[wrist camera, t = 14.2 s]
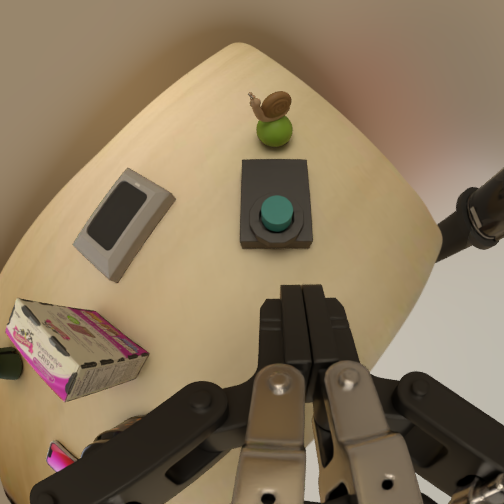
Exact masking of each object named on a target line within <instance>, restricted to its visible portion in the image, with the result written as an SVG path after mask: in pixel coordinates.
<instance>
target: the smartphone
mask: <svg viewBox="0 0 504 504" xmlns="http://www.w3.org/2000/svg"><path fill="white" fill-rule="evenodd" d="M75 461H77V459H76V458H74V457H73V456H72V455H71V454H70V453H69V452H68V451H67V450H66V449H65V448H63V447H62V446H61V445H60V444H59V443H58V442H57V441H53V442H51V444H50V447H49V450H48V453H47V457H46V462H47V463H48V465H49V466H50V467H51V468H52V469H53V470H54V471H55V472H58V471H60V470H62V469H63V468H65V467H67V466H68V465H70V464H72V463H73V462H75Z"/></svg>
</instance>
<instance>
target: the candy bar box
mask: <svg viewBox="0 0 504 504" xmlns="http://www.w3.org/2000/svg"><path fill="white" fill-rule="evenodd" d="M5 333H6V334H7V336H8V337H9V339H10V340H11V341H12V343H13V344H14V345H15V347H16V348H17V349H18V350H19V352H20V353H21V354H22V356H23V357H24V358H25V359H26V361H27V362H28V363H29V364H30V365H31V367H32V368H33V369H34V370H35V371H36V373H37V374H38V375H39V376H40V377H41V378H42V379H43V381H44V382H45V383H46V384H47V385H48V386H49V387H50V388H51V389H52V390H53V391H54V392H55V393H56V394H57V395H58V396H59V398H60V399H62V400H63V401H64V402H67V401H71V400H74V399H77V398H81V397H84V396H87V395H90V394H93V393H96V392H99V391H101V390H104V389H108V388H111V387H114V386H116V385H119V384H122V383H125V382H128V381H130V380H133V379H135V378H136V377H137V375H138V373H139V371H140V369H141V367H142V365H143V364H144V362H145V360H146V358H147V357H148V355H149V353H148V352H147V351H145V350H144V349H143V348H141V347H140V346H138V345H137V344H136V343H134V342H133V341H132V340H130V339H129V338H128V337H126V336H125V335H124V334H122V333H121V332H120V331H119V330H117V329H116V328H115V327H114V326H112V325H111V324H110V323H109V322H107V321H106V320H105V319H104V318H103V317H101V316H100V315H99V314H98V313H97V312H96V311H92V310H85V309H78V308H71V307H65V306H58V305H52V304H47V303H41V302H36V301H30V300H25V299H20V298H17V299H16V302H15V305H14V307H13V310H12V313H11V316H10V319H9V323H8V324H7V327H6V332H5Z"/></svg>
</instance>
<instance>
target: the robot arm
mask: <svg viewBox="0 0 504 504" xmlns="http://www.w3.org/2000/svg"><path fill="white" fill-rule="evenodd" d="M466 209H467V215H468V218H469V221H470V223H471V225H472V227H473V229H474V230H475V231H476V233H477V234H478V235H479V236H480V237H482V238H483V239H486V240H493V241H494V242H496V241H498V240H500V239H502V238H504V168H503V169H501V170H500V171H499V172H498V173H497V174H496V175H495V176H493V177H492V178H491V179H490V180H489V181H487V182H486V183H485V184H484V185H483V186H481V187H480V188H479V189H478V190H476V191H475V192H473V193H472V194H471V195H470V196H469V197H468V199H467V203H466ZM310 402H313V410H314V413H313V417H312V427H313V433H314V439H315V445H316V451H317V457H318V463H319V481H318V484H319V494H320V501H321V503H318V502H310V501H304V490H305V471H306V450H305V447H304V420H305V403H310ZM241 446H242V448H241V452H240V456H239V462H238V468H237V474H236V479H235V485H234V491H233V496H232V502H231V504H437V503H436V502H435V501H433V500H432V499H431V498H429V497H428V496H426V495H425V494H423V493H421V492H420V489H419V485H418V482H417V478H416V474H415V473H417V474H418V475H420V476H421V477H422V478H424V479H425V480H427V481H429V482H430V483H431V484H433V485H434V486H435V487H437V488H439V489H440V490H441V491H443V492H444V493H446V494H447V495H449V496H450V497H452V498H451V500H450V502H449V503H448V504H504V426H503V425H502V424H501V423H499V422H497V421H496V420H495V419H493V418H492V417H490V416H489V415H487V414H486V413H484V412H483V411H481V410H480V409H478V408H477V407H475V406H474V405H472V404H471V403H469V402H468V401H466V400H465V399H463V398H462V397H460V396H459V395H458V394H456V393H454V392H453V391H452V390H450V389H449V388H447V387H446V386H444V385H443V384H441V383H440V382H438V381H437V380H435V379H434V378H432V377H431V376H429V375H428V374H426V373H423V372H410V373H408V374H406V375H404V376H403V377H402V378H401V380H400V381H397V380H391V379H384V378H379V377H376V376H374V375H372V374H370V372H369V371H368V369H367V368H366V367H365V366H363V365H362V364H361V363H360V361H359V358H358V354H357V351H356V347H355V343H354V340H353V336H352V333H351V330H350V328H349V323H348V319H347V316H346V313H345V310H344V307H343V306H342V304H341V303H340V302H339V301H338V300H337V299H336V298H325V295H324V292H323V288H322V285H321V284H318V285H281V286H280V299H266V300H265V302H264V303H263V305H262V306H261V308H260V328H259V354H258V368H257V370H256V372H255V374H254V375H253V376H252V377H251V378H250V379H249V380H248V381H246V382H244V383H242V384H240V385H237V386H232V387H228V388H224V389H222V388H221V387H219V386H218V385H216V384H214V383H211V382H207V381H198V382H193V383H191V384H188V385H187V386H185V387H184V388H182V389H181V390H180V391H178V392H177V393H176V394H174V395H173V396H172V397H170V398H169V399H167V400H166V401H165V402H163V403H162V404H161V405H159V406H158V407H156V408H155V409H154V410H152V411H151V412H150V413H148V414H147V415H145V416H144V417H142V418H141V419H140V420H138V421H137V422H135V423H134V424H132V425H131V426H129V427H128V428H127V429H125V430H124V431H122V432H121V433H119V434H118V435H116V436H115V437H113V438H112V439H110V440H109V441H107V442H105V443H104V444H102V445H101V446H99V447H98V448H96V449H95V450H93V451H91V452H90V453H88V454H87V455H85V456H83V457H82V458H80V459H78V460H77V461H75V462H73V463H72V464H70V465H68V466H67V467H65V468H63V469H62V470H60V471H58V472H56V473H55V474H53V475H51V476H49V477H47V478H46V479H44V480H42V481H40V482H38V483H37V484H35V485H34V486H33V488H32V490H31V493H30V504H164V503H166V502H167V501H169V500H170V499H171V498H173V497H174V496H176V495H177V494H178V493H180V492H181V491H182V490H184V489H185V488H186V487H187V486H189V485H190V484H191V483H193V482H194V481H195V480H196V479H198V478H199V477H200V476H201V475H203V474H204V473H205V472H206V471H207V470H209V469H210V468H211V467H212V466H213V465H215V464H216V463H217V462H218V461H219V460H220V459H221V458H223V457H224V456H225V455H226V454H227V453H228V452H229V451H230V450H231V449H233V448H237V447H241Z"/></svg>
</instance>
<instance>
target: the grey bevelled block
mask: <svg viewBox="0 0 504 504" xmlns="http://www.w3.org/2000/svg"><path fill="white" fill-rule="evenodd" d="M175 200H176V199H175V198H174V196H173V195H172V193H170V192H169V191H167V190H165V189H164V188H162V187H160V186H159V185H157V184H155V183H154V182H152V181H150V180H148V179H147V178H145V177H143V176H142V175H140V174H138V173H137V172H135V171H133V170H131V169H130V168H127V169H126V170H125V171H124V172H123V173H122V175H121V176H120V177H119V179H118V180H117V181H116V182H115V184H114V185H113V186H112V188H111V189H110V190H109V192H108V193H107V194H106V196H105V197H104V198H103V200H102V201H101V202H100V204H99V205H98V207H97V208H96V209H95V211H94V212H93V214H92V215H91V217H90V218H89V220H88V221H87V223H86V224H85V226H84V227H83V229H82V230H81V232H80V233H79V235H78V236H77V238H76V239H75V241H74V243H73V246H74V247H75V248H76V249H77V250H78V251H79V252H80V253H81V254H82V255H83V256H84V257H85V258H87V259H88V260H89V261H90V262H91V263H92V264H93V265H94V266H95V267H96V268H97V269H98V270H99V271H100V272H101V273H103V274H104V275H105V276H106V277H107V278H108V279H109V280H111V281H114V282H117V283H118V281H119V280H120V278H121V277H122V275H123V274H124V272H125V271H126V269H127V268H128V266H129V264H130V263H131V261H132V260H133V258H134V257H135V255H136V254H137V253H138V251H139V250H140V248H141V247H142V245H143V244H144V242H145V241H146V239H147V238H148V237H149V235H150V234H151V232H152V231H153V230H154V228H155V227H156V225H157V224H158V223H159V221H160V220H161V218H162V217H163V216H164V214H165V213H166V212H167V210H168V209H169V208H170V206H171V205H172V204H173V202H174V201H175Z"/></svg>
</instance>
